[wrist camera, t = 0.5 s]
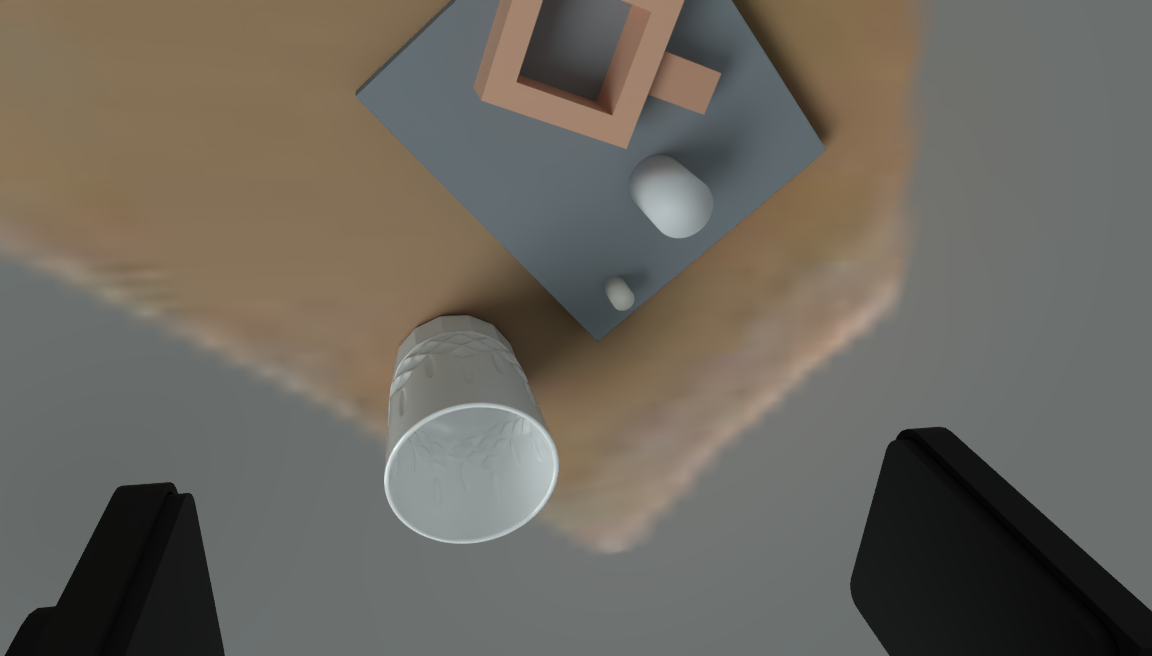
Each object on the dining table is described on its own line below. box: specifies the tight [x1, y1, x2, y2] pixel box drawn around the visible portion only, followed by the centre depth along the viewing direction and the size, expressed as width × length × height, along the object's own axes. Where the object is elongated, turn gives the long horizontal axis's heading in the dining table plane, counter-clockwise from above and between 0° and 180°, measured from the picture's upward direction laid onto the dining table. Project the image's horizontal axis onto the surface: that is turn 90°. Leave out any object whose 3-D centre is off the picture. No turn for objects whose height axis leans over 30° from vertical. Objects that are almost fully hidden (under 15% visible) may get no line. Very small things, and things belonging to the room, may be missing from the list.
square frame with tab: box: [474, 0, 721, 149], centre depth 35 cm, size 10×7×3 cm
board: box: [356, 0, 826, 342], centre depth 37 cm, size 18×16×5 cm
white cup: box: [384, 315, 559, 544], centre depth 40 cm, size 8×8×10 cm
